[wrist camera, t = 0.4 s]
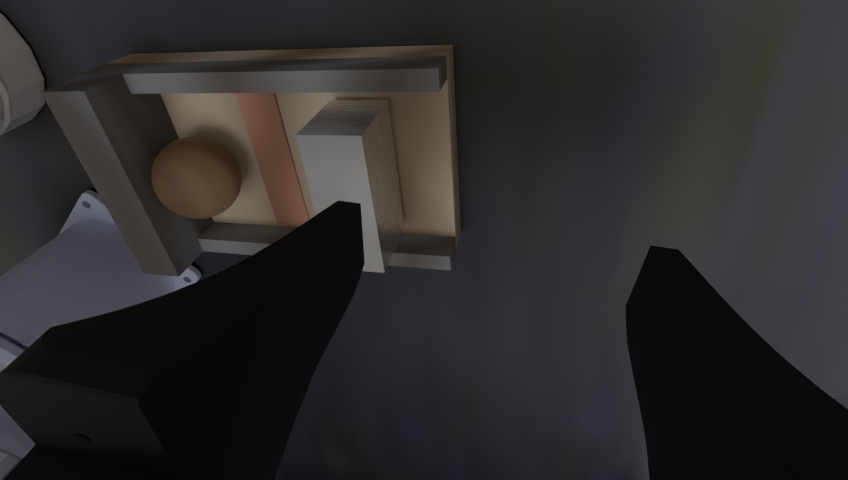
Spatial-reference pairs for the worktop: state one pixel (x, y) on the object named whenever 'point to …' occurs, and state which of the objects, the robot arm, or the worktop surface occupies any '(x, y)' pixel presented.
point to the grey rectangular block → (356, 170)
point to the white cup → (17, 79)
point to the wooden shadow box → (255, 145)
